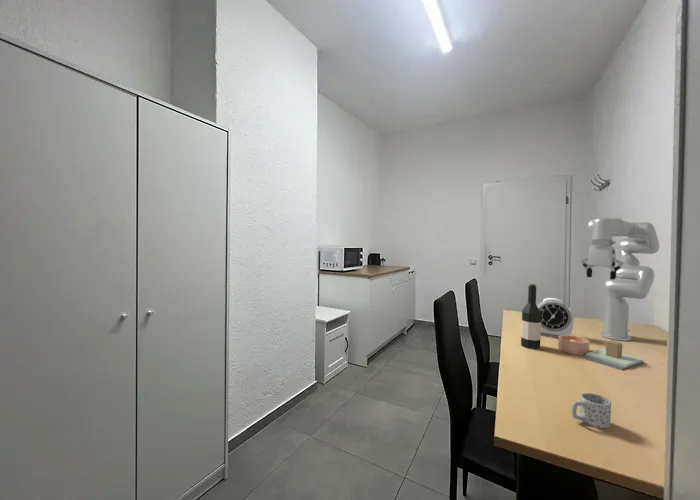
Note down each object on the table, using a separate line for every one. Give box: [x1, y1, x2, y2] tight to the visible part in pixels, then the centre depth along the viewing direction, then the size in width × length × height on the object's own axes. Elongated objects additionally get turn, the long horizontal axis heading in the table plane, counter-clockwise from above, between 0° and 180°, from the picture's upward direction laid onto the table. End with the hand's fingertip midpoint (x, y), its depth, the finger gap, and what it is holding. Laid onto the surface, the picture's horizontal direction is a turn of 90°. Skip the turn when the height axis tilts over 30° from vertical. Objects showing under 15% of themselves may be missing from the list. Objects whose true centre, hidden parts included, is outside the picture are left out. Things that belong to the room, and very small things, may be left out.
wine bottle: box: [520, 283, 542, 350], centre depth 149 cm, size 8×8×30 cm
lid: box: [585, 339, 643, 367], centre depth 133 cm, size 14×14×7 cm
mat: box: [582, 355, 645, 371], centre depth 133 cm, size 18×14×1 cm
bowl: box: [557, 334, 590, 356], centre depth 144 cm, size 12×12×6 cm
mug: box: [571, 392, 612, 430], centre depth 87 cm, size 10×7×7 cm, turn 92°
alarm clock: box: [536, 297, 575, 339], centre depth 166 cm, size 18×8×20 cm, turn 62°
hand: (600, 278), depth 152 cm, fingers open, 9 cm apart
